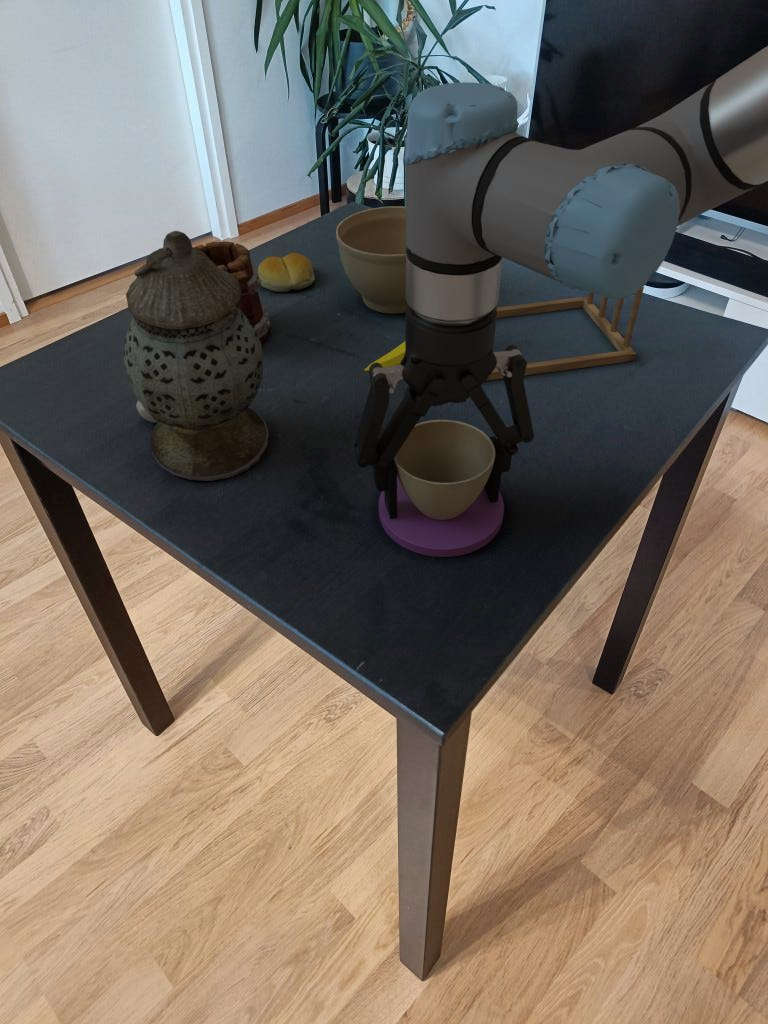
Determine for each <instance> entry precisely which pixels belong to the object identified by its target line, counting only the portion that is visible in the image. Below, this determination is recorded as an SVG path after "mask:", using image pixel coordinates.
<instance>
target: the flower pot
mask: <svg viewBox="0 0 768 1024" xmlns="http://www.w3.org/2000/svg"><path fill="white" fill-rule="evenodd" d="M489 437H490V436H489V435H488V434H487V433H486V432H484V431H483V430H481V429H480V428H478V427H476V426H474V425H472V424H469V423H466V422H462V421H457V420H453V419H452V420H451V419H432V420H426V421H421V422H417V424H416V425H415V427H414V428H413V430H412V431H411V433H410V434H409V436H408V437H407V439H406V440H405V442H404V444H403V445H402V447H401V448H400V450H399V451H398V453H397V454H396V456H395V457H394V459H393V460H394V462H395V465H396V468H397V475H398V478H399V481H400V483H401V485H402V487H403V489H404V491H405V493H406V494H407V496H408V497H409V499H410V500H411V502H412V503H413V504H414V505H415V506H416V507H417V509H418V510H419V511H421V512H422V513H423V514H424V515H425V516H427V517H430V518H432V519H437V520H447V519H452V518H455V517H457V516H459V515H460V514H462V513H463V512H464V511H465V510H466V509H467V508H468V507H469V506H470V505H471V504H472V503H473V502H474V501H475V500H476V498H477V497H478V496H479V494H480V493H481V491H482V490H483V488H484V486H485V484H486V482H487V480H488V478H489V476H490V473H491V471H492V468H493V464H494V460H495V454H496V451H495V447H494V444H493V442H492V440H491V439H490V438H489Z"/></svg>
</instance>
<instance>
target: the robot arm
mask: <svg viewBox="0 0 768 1024" xmlns="http://www.w3.org/2000/svg"><path fill="white" fill-rule="evenodd" d="M518 106H519V105H518V101H517V98H516V96H515V95H514V94H512V93H511V92H510V91H507V90H506V89H505V88H504V87H501V86H497V85H494V84H489V83H482V82H469V81H467V82H466V81H465V82H450V83H442V84H438V85H435V86H431V87H428V88H425V89H423V90H422V91H420V92H419V93H418V94H417V95H415V96H414V98H413V99H412V101H411V102H410V105H409V108H408V112H407V113H408V114H407V125H406V126H407V129H406V139H405V141H406V143H405V153H404V155H405V156H403V164H405V166H404V167H405V201H406V202H405V207H406V301H407V303H408V304H407V306H406V312H405V328H404V329H405V330H404V331H405V333H404V334H405V335H404V336H405V340H404V342H405V355H404V357H403V359H402V360H401V363H400V365H394V366H389V367H384V368H383V367H382V365H381V364H380V363H373V362H372V363H373V364H372V363H371V364H372V365H371V366H370V367H369V372H368V373H369V379H370V387H369V391H368V395H367V398H366V400H365V401H366V402H365V404H364V405H365V406H364V408H363V412H362V416H361V418H360V422H359V425H358V429H357V433H356V436H355V439H354V443H353V446H352V447H353V451H354V455H355V458H356V463H357V465H358V466H359V467H360V468H367V467H368V466H372V467H373V481H374V484H375V489H377V491H378V493H380V492H382V491H384V497H385V504H386V507H387V511H388V514H389V517H390V519H393V518H397V468H396V465H395V462H394V460H393V459H394V457H395V456H396V454H397V453H398V451H399V450H400V448H401V447H402V445H403V444H404V442H405V440H406V439H407V437H408V436H409V434H410V433H411V431H412V430H413V428H414V427H415V425H416V424H418V423H419V421H420V419H421V418H422V417H423V418H424V417H426V415H427V414H428V412H429V411H430V409H431V407H438V406H439V407H440V406H443V405H446V404H449V403H453V404H454V403H455V404H460V403H466V402H467V400H468V399H471V401H472V402H473V404H474V405H475V407H476V408H477V410H478V411H479V412H480V414H481V416H482V418H483V419H484V420H485V422H486V423H487V425H488V426H489V428H490V430H491V431H492V432H493V434H494V436H488V437H489V438H490V439H491V440H492V442H493V444H494V447H495V451H496V454H495V460H494V464H493V468H492V471H491V473H490V476H489V478H488V480H487V482H486V484H485V486H484V489H485V491H486V493H487V496H488V498H489V500H490V502H491V503H493V502H498V496H499V492H500V487H501V479H502V473H508V472H509V470H510V469H511V467H512V458H513V456H514V455H516V454H517V453H518V452H519V447H518V445H517V444H519V443H522V442H523V443H525V444H527V443H531V442H532V441H533V440H534V438H535V434H534V429H533V423H532V418H531V413H530V412H531V411H530V408H529V403H528V398H527V392H526V387H525V382H524V379H525V376H524V375H525V371H526V366H527V364H528V363H527V359H526V358H525V356H524V355H523V354H522V352H521V351H520V349H519V348H518V346H517V345H516V344H509V345H508V346H506V348H505V350H504V351H502V350H501V351H494V345H495V335H496V328H497V327H496V326H497V318H496V317H497V309H496V308H497V306H498V303H499V300H500V288H501V287H500V286H501V276H502V265H503V264H502V263H503V259H505V260H507V261H510V262H512V263H515V264H517V265H519V266H522V267H524V268H526V269H528V270H531V271H533V272H535V273H538V274H540V275H542V276H545V277H547V278H549V279H552V280H554V281H556V282H558V283H559V284H561V285H562V286H564V287H567V288H569V289H571V290H574V289H576V290H579V291H586V292H588V293H589V292H592V293H594V295H599V296H601V297H602V296H604V297H607V298H608V299H613V300H617V299H620V298H624V299H625V298H628V297H631V296H632V295H634V294H636V292H637V291H638V290H640V289H641V288H642V287H645V286H646V285H647V283H648V281H649V280H650V277H651V275H652V274H656V273H657V272H658V270H659V269H660V267H661V265H662V264H663V262H664V261H665V259H666V257H667V255H668V253H669V250H670V248H671V246H672V244H673V241H674V238H675V235H676V231H677V228H678V227H679V226H681V225H683V224H686V223H687V222H689V221H690V220H693V219H695V218H697V217H698V216H701V215H703V214H704V213H706V212H708V211H711V210H713V209H714V208H717V207H719V206H720V205H723V204H725V203H727V202H729V201H731V200H733V199H735V198H737V197H739V196H741V195H743V194H745V193H747V192H749V191H751V190H753V189H755V188H756V187H758V186H760V185H762V184H764V183H766V182H768V45H767V46H766V47H764V48H762V49H761V50H759V51H757V52H755V54H753V55H752V56H750V57H749V58H747V59H745V60H744V61H742V62H741V63H739V64H737V65H736V66H735V67H733V68H732V69H730V70H729V71H727V72H725V73H724V74H722V75H721V76H720V77H718V78H716V80H714V81H713V82H711V83H709V84H707V85H705V86H704V87H702V88H701V89H699V90H697V91H696V92H694V93H693V94H691V95H690V96H689V97H687V98H685V99H684V100H682V101H681V102H679V103H677V104H676V105H675V106H673V107H672V108H670V109H669V110H667V111H665V112H663V113H662V114H660V115H658V116H656V117H655V118H652V119H650V120H648V121H647V122H644V123H642V124H640V125H637V126H635V127H632V128H630V129H627V130H625V131H622V132H620V133H617V134H616V135H613V136H610V137H608V138H606V139H603V140H601V141H599V142H596V143H593V144H591V145H588V146H587V147H584V148H582V149H569V148H564V147H560V146H556V145H552V144H547V143H543V142H539V141H537V140H535V139H532V138H530V137H527V136H523V135H520V134H519V133H517V131H518V130H519V125H520V122H519V121H518V108H519V107H518ZM495 368H498V370H499V371H500V373H501V375H502V376H503V377H504V379H503V381H504V386H505V390H506V395H507V400H508V405H509V409H510V413H511V418H512V419H511V420H512V423H513V424H512V425H510V426H507V425H506V424H505V422H504V421H503V419H502V417H501V416H500V414H499V412H498V410H497V409H496V408H495V406H494V404H493V403H492V401H491V400H490V399H491V398H489V396H488V395H487V393H486V392H485V390H484V388H483V387H482V385H483V384H484V382H486V381H485V380H486V379H487V378H488V376H489V375H490V374H491V373H492V372H493V370H494V369H495ZM400 381H404V382H405V383H406V384H407V386H406V388H405V390H404V392H403V398H402V399H401V401H400V403H399V404H398V406H397V408H396V409H395V410H394V412H393V414H392V416H391V417H390V419H389V420H388V422H387V424H386V426H385V427H384V428H383V430H382V427H383V424H384V422H385V417H386V415H387V411H388V407H389V405H390V395H393V394H394V393H395V392H396V391H395V390H396V389H397V386H398V383H399V382H400ZM381 430H382V432H381Z"/></svg>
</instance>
